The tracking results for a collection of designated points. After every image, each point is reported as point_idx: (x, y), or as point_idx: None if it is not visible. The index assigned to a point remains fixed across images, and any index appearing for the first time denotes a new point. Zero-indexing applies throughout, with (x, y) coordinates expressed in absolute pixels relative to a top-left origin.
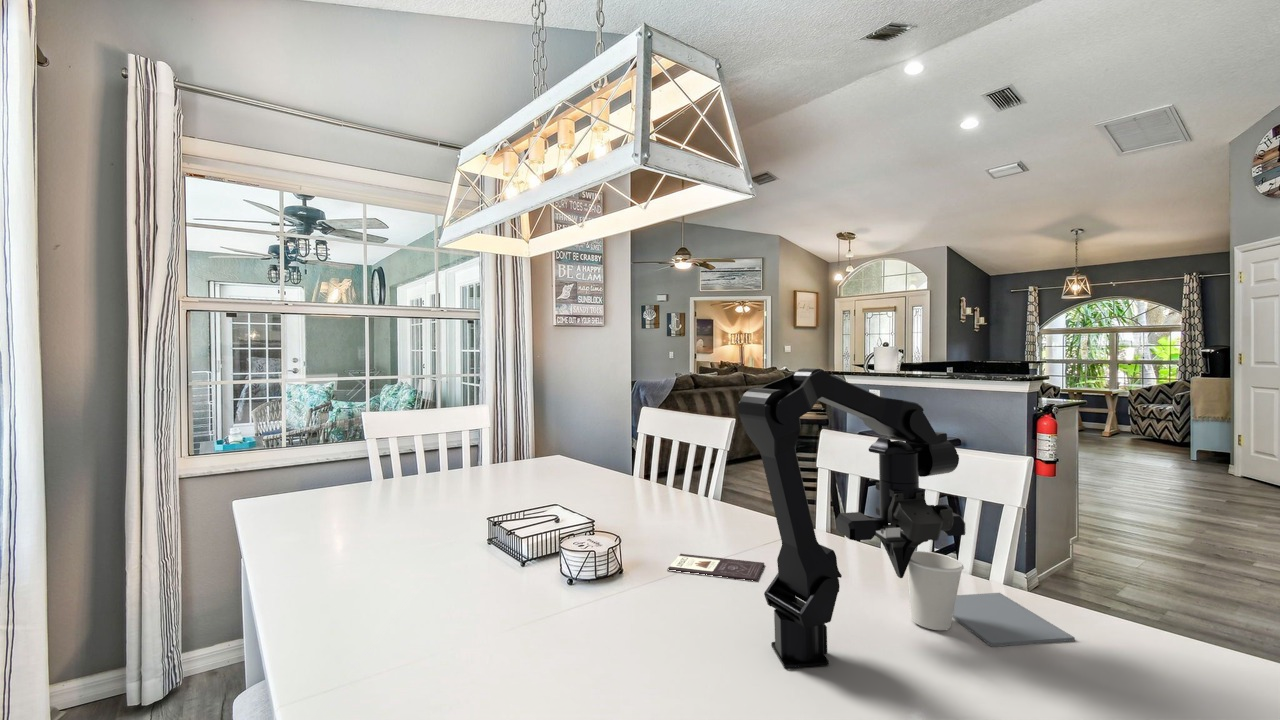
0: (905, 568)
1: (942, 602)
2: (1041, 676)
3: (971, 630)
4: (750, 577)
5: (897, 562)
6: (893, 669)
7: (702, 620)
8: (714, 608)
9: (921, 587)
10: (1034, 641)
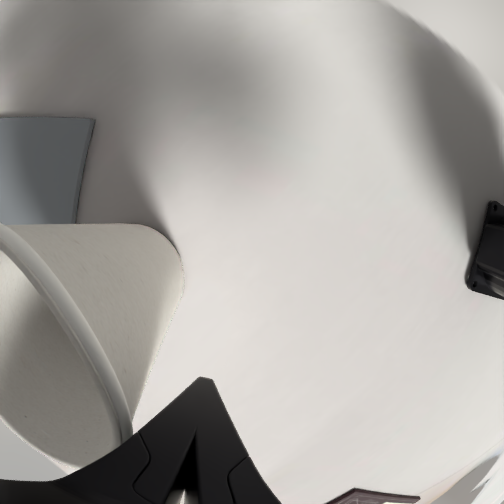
0: (180, 402)
1: (105, 228)
2: (121, 9)
3: (77, 197)
4: (358, 495)
5: (241, 440)
6: (403, 125)
7: (500, 388)
8: (468, 420)
9: (143, 299)
10: (19, 117)
